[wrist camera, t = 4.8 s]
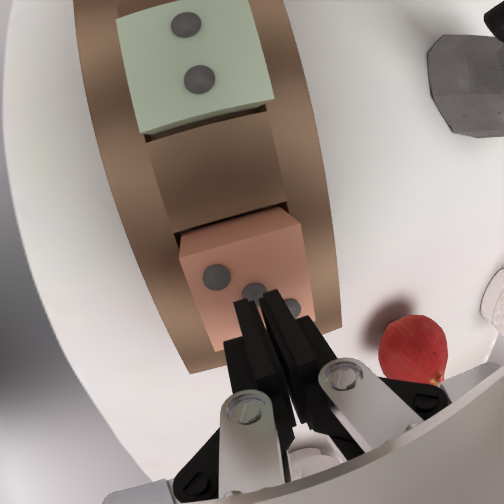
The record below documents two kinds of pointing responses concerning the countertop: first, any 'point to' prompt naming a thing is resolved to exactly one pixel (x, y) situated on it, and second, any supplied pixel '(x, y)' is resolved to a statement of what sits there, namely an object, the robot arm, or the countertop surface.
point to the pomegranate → (414, 350)
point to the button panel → (208, 169)
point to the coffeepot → (471, 79)
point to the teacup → (309, 462)
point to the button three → (245, 268)
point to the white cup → (494, 302)
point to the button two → (192, 62)
